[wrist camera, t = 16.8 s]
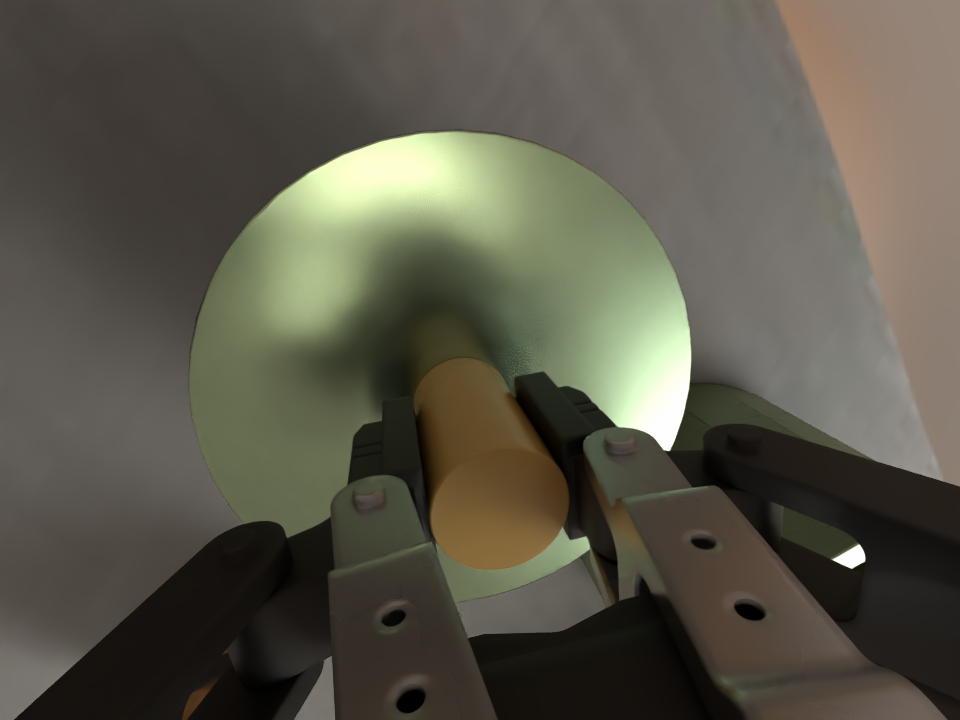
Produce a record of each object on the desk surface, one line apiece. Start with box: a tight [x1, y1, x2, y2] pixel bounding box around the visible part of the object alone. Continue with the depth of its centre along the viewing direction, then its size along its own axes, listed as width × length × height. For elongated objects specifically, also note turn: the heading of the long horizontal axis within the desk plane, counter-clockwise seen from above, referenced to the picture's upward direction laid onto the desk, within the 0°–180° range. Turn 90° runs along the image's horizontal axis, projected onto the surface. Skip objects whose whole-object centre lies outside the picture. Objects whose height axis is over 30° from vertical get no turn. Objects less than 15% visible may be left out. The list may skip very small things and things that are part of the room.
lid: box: [188, 129, 692, 602], centre depth 12 cm, size 14×14×6 cm
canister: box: [581, 384, 875, 598], centre depth 22 cm, size 13×13×12 cm
